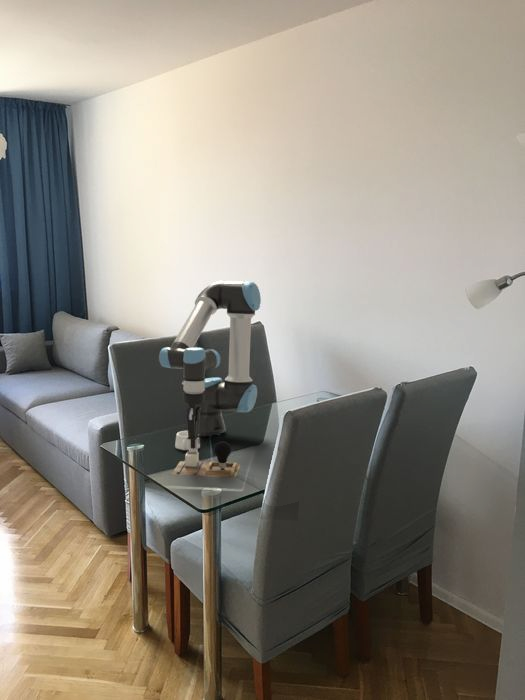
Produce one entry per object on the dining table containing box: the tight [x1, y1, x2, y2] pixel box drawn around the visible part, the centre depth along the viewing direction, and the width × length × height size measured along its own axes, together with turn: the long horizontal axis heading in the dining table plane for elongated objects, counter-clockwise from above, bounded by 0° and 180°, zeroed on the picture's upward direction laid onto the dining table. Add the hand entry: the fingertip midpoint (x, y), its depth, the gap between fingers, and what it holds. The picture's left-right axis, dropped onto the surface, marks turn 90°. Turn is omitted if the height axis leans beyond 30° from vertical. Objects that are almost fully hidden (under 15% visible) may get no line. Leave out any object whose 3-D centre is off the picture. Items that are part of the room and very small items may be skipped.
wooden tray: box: [170, 460, 241, 478], centre depth 207 cm, size 14×22×2 cm, turn 86°
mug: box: [174, 430, 201, 451], centre depth 231 cm, size 12×10×6 cm
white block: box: [184, 451, 200, 467], centre depth 210 cm, size 4×4×5 cm
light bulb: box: [213, 440, 232, 470], centre depth 206 cm, size 6×6×10 cm
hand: (193, 456), depth 214 cm, fingers closed
